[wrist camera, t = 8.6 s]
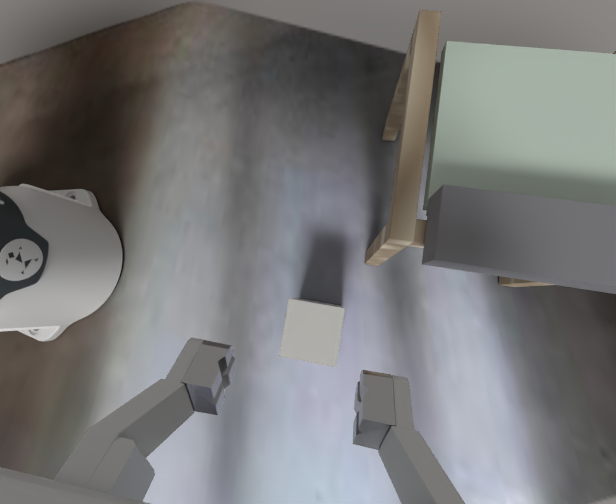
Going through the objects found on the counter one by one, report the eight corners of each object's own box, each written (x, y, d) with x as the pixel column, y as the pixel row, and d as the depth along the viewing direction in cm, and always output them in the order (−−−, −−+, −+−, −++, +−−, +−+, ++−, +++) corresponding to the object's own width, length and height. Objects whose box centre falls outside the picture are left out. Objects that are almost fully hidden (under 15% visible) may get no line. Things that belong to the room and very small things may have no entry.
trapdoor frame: (364, 263, 35) (389, 238, 20) (383, 128, 37) (419, 9, 22) (513, 286, 33) (667, 278, 18) (524, 143, 35) (670, 27, 20)
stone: (291, 342, 34) (278, 356, 26) (298, 298, 35) (288, 298, 27) (335, 350, 34) (336, 367, 26) (342, 305, 34) (345, 308, 27)
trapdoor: (416, 266, 20) (434, 259, 16) (441, 52, 22) (463, 4, 19) (612, 296, 19) (679, 296, 15) (620, 66, 21) (680, 18, 17)
